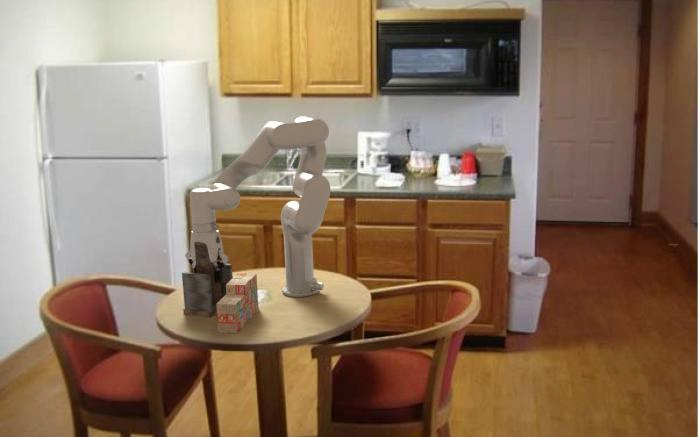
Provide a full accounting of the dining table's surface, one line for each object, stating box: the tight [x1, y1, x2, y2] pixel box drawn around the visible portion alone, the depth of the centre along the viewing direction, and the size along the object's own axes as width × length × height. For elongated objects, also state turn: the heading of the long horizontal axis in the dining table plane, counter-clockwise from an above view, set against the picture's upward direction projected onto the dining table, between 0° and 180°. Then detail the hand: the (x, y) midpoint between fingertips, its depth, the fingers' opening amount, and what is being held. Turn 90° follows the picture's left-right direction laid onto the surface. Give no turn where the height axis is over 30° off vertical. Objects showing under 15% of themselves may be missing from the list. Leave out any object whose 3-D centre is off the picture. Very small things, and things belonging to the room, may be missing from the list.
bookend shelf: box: [181, 263, 234, 318], centre depth 249 cm, size 10×15×14 cm, turn 155°
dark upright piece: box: [194, 242, 221, 301], centre depth 248 cm, size 8×7×20 cm
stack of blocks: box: [216, 273, 259, 334], centre depth 238 cm, size 21×6×12 cm, turn 169°
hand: (208, 279), depth 249 cm, fingers closed on dark upright piece, 7 cm apart
